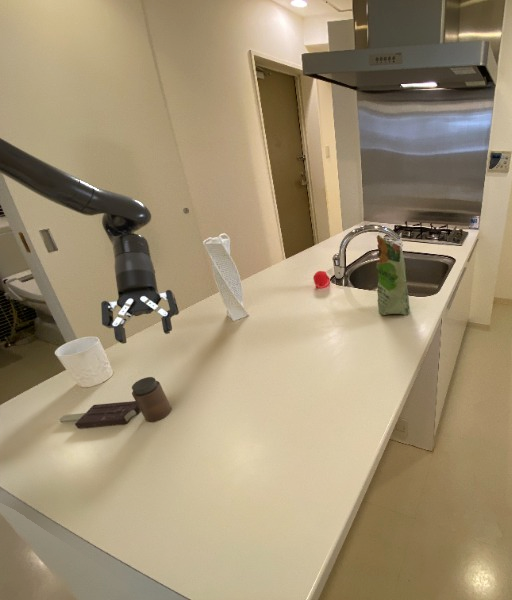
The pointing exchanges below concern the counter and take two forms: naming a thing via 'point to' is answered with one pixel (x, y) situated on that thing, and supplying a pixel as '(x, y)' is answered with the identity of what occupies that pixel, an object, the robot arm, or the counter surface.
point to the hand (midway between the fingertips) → (145, 337)
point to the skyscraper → (226, 276)
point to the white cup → (85, 361)
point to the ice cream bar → (104, 415)
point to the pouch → (391, 279)
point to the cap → (321, 280)
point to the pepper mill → (151, 399)
